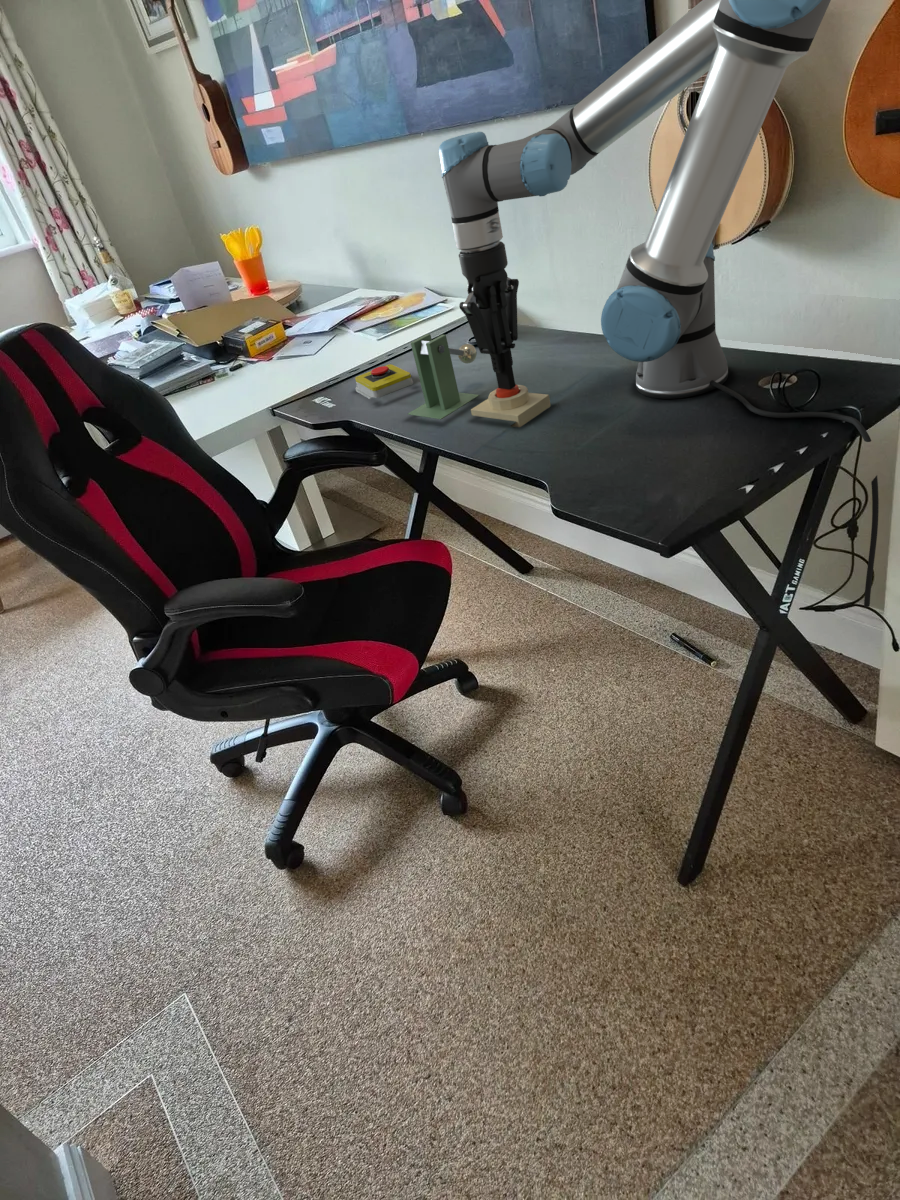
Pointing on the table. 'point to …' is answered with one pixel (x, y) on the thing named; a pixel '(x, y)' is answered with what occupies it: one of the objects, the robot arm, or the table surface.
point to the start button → (507, 392)
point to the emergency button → (382, 381)
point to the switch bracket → (437, 379)
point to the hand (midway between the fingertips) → (507, 387)
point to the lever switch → (456, 352)
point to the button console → (513, 406)
